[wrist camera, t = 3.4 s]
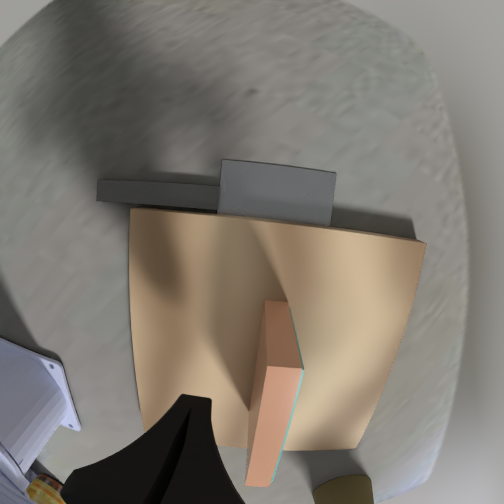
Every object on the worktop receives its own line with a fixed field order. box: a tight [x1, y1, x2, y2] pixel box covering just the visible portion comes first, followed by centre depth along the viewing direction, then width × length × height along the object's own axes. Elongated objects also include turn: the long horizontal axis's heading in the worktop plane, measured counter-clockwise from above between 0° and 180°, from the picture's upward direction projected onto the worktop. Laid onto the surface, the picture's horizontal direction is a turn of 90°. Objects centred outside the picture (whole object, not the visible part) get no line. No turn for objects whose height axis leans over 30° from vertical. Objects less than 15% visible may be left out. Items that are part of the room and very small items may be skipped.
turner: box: [97, 160, 336, 227], centre depth 15 cm, size 13×4×1 cm, turn 84°
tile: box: [245, 300, 304, 487], centre depth 13 cm, size 1×8×6 cm, turn 174°
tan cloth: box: [129, 207, 427, 451], centre depth 17 cm, size 16×16×1 cm
